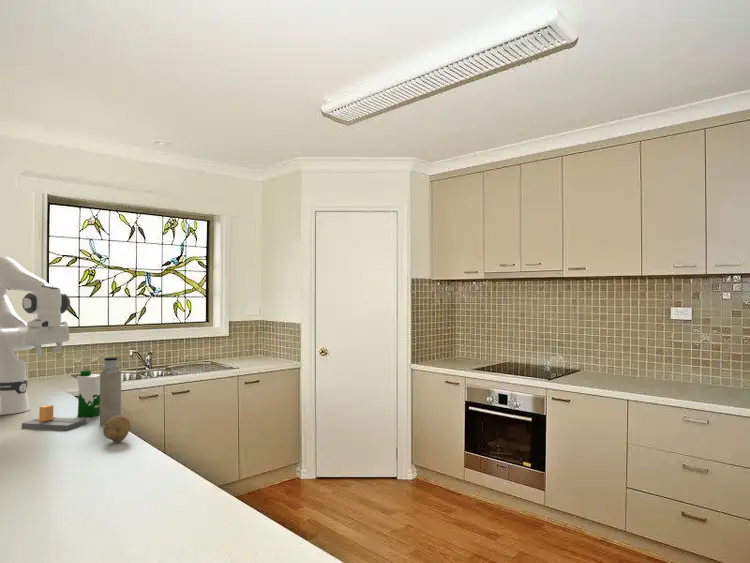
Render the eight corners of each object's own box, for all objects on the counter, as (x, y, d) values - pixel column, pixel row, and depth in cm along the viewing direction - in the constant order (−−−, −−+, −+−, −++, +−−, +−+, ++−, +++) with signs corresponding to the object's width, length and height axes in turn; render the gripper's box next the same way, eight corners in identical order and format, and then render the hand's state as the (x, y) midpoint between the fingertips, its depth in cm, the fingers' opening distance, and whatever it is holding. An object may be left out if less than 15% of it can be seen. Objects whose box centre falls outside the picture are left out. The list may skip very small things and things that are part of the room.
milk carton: (85, 412, 240) (86, 369, 241) (105, 413, 240) (105, 369, 240) (74, 417, 231) (74, 372, 232) (94, 417, 231) (94, 372, 232)
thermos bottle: (107, 421, 225) (107, 356, 225) (124, 421, 224) (125, 356, 225) (95, 426, 217) (96, 358, 218) (113, 426, 216) (114, 358, 217)
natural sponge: (119, 447, 188) (119, 419, 188) (97, 445, 190) (97, 418, 190) (135, 440, 197) (135, 413, 197) (114, 438, 199) (114, 412, 199)
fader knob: (37, 420, 216) (37, 407, 216) (46, 417, 221) (47, 404, 221) (45, 421, 215) (45, 407, 215) (55, 418, 220) (55, 405, 220)
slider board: (21, 428, 214) (21, 422, 214) (43, 421, 224) (43, 416, 225) (67, 430, 210) (67, 425, 210) (86, 423, 221) (86, 418, 221)
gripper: (61, 320, 237) (60, 351, 237) (23, 323, 217) (22, 356, 217) (73, 320, 236) (72, 351, 236) (36, 323, 216) (36, 357, 216)
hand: (48, 354), depth 226 cm, fingers open, 8 cm apart
